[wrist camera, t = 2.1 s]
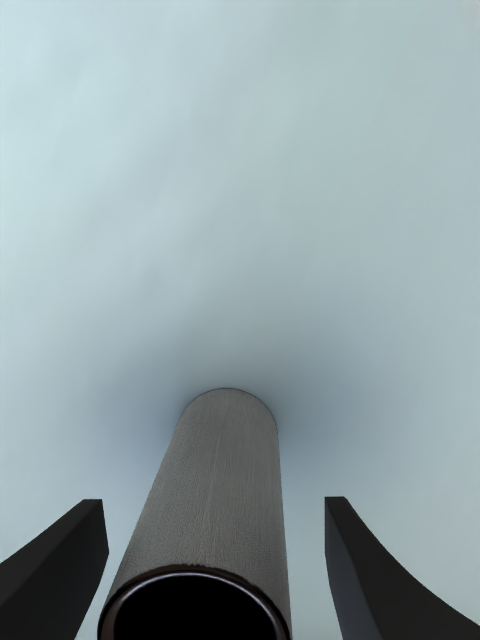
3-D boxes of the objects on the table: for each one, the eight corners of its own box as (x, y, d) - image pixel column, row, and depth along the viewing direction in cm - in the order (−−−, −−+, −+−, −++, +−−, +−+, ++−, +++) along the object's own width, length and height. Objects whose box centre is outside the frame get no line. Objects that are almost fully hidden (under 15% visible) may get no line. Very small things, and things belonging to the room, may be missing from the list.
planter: (158, 416, 20) (56, 616, 10) (244, 369, 19) (226, 533, 9) (211, 494, 21) (164, 751, 11) (295, 451, 20) (329, 684, 10)
